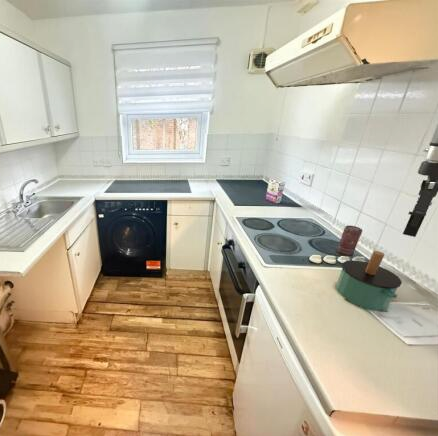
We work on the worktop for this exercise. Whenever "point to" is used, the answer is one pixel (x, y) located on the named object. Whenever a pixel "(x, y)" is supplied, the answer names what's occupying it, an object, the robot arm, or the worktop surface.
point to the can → (349, 240)
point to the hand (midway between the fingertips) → (411, 229)
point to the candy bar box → (275, 191)
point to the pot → (364, 293)
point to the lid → (372, 272)
